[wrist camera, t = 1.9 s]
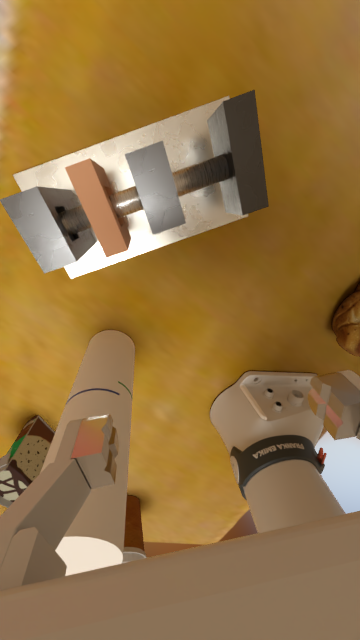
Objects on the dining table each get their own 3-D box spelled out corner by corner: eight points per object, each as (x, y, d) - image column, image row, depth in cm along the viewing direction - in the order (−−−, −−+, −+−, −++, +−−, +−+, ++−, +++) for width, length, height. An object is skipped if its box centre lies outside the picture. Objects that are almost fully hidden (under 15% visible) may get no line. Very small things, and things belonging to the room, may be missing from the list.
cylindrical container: (99, 322, 35) (24, 530, 13) (142, 340, 38) (141, 542, 16) (80, 358, 38) (-8, 585, 16) (123, 373, 40) (98, 589, 18)
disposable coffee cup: (141, 513, 60) (141, 581, 50) (102, 513, 58) (93, 584, 47) (150, 491, 56) (151, 559, 46) (108, 490, 54) (99, 561, 44)
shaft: (232, 111, 22) (254, 89, 17) (247, 204, 26) (268, 206, 21) (20, 188, 22) (-10, 186, 18) (65, 268, 26) (49, 283, 22)
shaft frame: (226, 99, 26) (274, 41, 16) (245, 215, 31) (289, 223, 22) (17, 175, 26) (-55, 163, 17) (72, 276, 32) (42, 310, 22)
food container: (0, 421, 41) (-39, 482, 33) (32, 409, 41) (2, 467, 32) (44, 460, 47) (20, 521, 38) (72, 450, 47) (56, 509, 38)
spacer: (103, 168, 24) (89, 158, 18) (131, 238, 27) (127, 250, 21) (84, 175, 24) (64, 167, 18) (114, 244, 27) (106, 258, 21)
